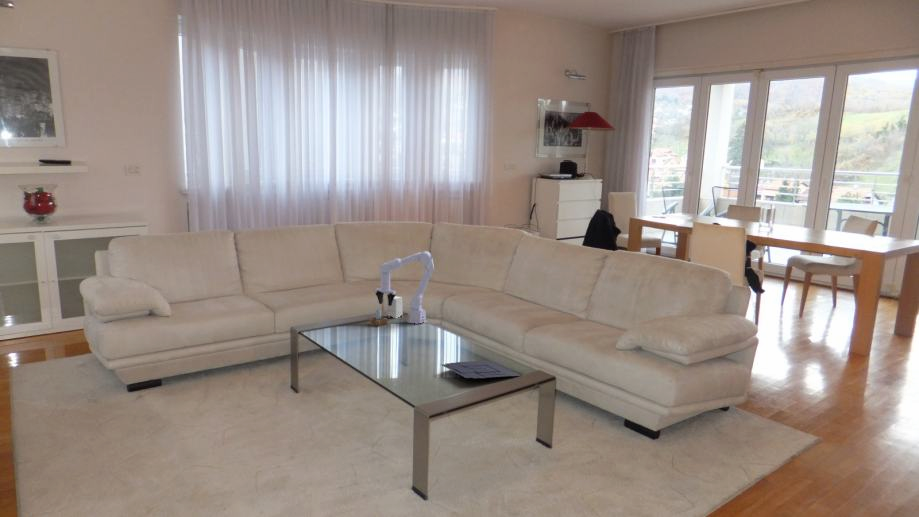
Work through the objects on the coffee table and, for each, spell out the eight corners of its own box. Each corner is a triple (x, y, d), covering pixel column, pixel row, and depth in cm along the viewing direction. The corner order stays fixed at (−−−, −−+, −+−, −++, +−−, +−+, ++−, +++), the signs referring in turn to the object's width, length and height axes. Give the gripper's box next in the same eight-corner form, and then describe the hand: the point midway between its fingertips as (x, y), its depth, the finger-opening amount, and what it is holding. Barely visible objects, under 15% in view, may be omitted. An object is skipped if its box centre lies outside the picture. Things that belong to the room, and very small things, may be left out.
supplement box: (402, 316, 372) (403, 297, 370) (395, 318, 366) (395, 299, 364) (393, 314, 376) (393, 295, 374) (386, 317, 369) (386, 297, 368)
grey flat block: (437, 369, 268) (438, 361, 268) (488, 366, 285) (489, 359, 285) (467, 385, 248) (468, 377, 248) (520, 381, 265) (521, 373, 265)
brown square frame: (387, 324, 351) (387, 318, 351) (378, 326, 345) (378, 320, 345) (378, 322, 356) (378, 316, 355) (369, 324, 349) (369, 318, 349)
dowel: (382, 324, 351) (382, 309, 349) (378, 325, 348) (378, 310, 347) (378, 323, 353) (378, 309, 351) (374, 324, 350) (374, 309, 349)
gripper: (372, 282, 356) (372, 303, 358) (390, 285, 348) (390, 307, 350) (380, 280, 362) (379, 302, 364) (397, 283, 354) (397, 305, 356)
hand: (385, 304), depth 358 cm, fingers open, 7 cm apart
